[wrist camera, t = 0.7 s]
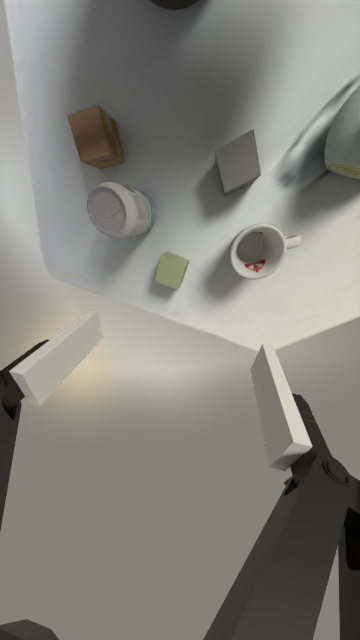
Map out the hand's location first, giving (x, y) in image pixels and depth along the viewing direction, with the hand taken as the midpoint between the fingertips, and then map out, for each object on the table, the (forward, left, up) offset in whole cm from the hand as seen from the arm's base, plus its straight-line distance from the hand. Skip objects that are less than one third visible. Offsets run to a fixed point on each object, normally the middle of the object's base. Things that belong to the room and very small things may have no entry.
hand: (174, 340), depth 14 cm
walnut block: (-17, -19, -27) cm, 37 cm away
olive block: (+1, -5, -27) cm, 27 cm away
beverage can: (-8, -13, -27) cm, 31 cm away
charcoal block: (-16, +3, -27) cm, 31 cm away
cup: (-6, +10, -27) cm, 29 cm away
